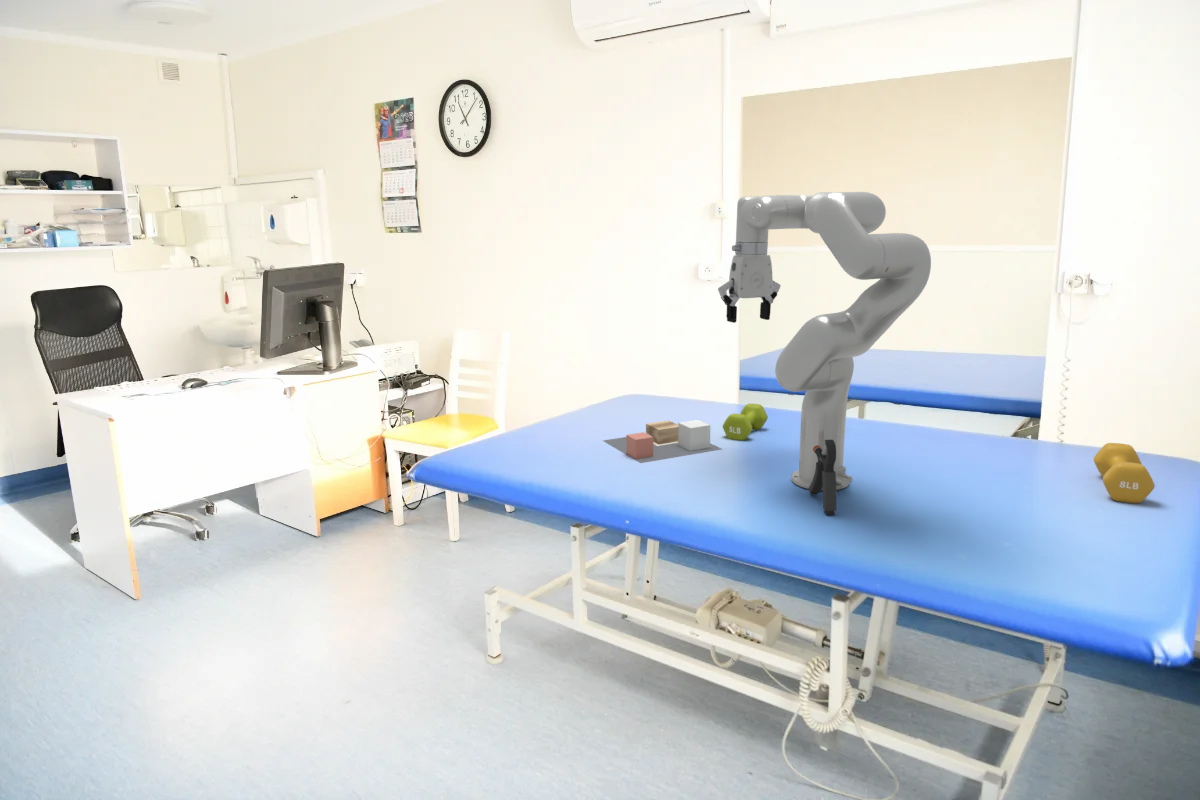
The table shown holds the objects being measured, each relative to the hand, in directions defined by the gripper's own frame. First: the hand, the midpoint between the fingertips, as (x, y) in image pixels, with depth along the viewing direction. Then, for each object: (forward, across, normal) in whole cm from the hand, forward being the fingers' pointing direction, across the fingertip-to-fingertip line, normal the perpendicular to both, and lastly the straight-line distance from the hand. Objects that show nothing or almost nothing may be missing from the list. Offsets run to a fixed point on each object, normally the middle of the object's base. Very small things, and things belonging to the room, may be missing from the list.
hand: (748, 320), depth 190 cm
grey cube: (+34, -9, +8) cm, 36 cm away
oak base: (+34, -14, +17) cm, 40 cm away
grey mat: (+34, -16, +13) cm, 40 cm away
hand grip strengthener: (+33, -6, -38) cm, 51 cm away
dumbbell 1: (+34, +10, +13) cm, 38 cm away
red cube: (+34, -25, +8) cm, 43 cm away
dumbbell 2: (+32, +56, -60) cm, 88 cm away
